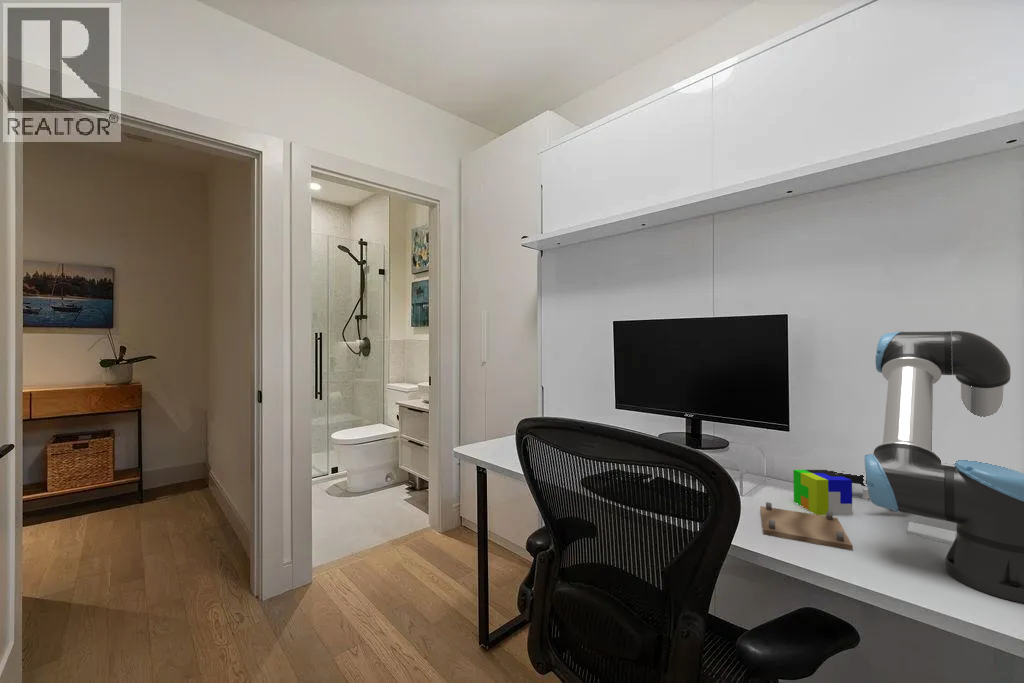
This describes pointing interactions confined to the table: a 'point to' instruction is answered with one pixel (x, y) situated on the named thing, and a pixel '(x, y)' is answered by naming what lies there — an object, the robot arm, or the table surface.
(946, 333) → the robot arm
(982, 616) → the table surface
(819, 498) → the puzzle toy
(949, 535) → the external hard drive
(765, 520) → the base plate
